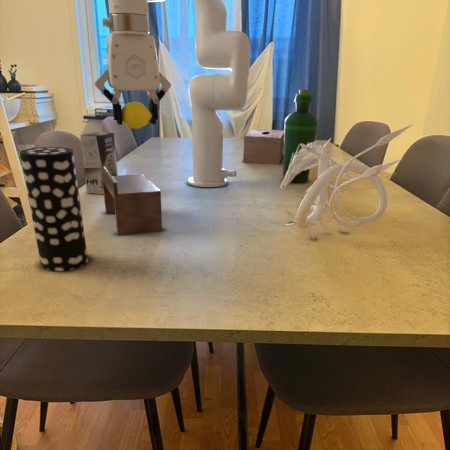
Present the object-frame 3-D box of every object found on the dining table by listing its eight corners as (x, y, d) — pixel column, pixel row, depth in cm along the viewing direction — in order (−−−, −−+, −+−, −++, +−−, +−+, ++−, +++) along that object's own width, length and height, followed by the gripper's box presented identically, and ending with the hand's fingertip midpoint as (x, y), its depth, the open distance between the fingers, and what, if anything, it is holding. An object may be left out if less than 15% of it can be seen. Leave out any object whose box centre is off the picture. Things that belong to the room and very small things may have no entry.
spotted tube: (48, 254, 84) (28, 146, 75) (91, 253, 85) (77, 147, 76) (35, 271, 77) (12, 155, 68) (83, 270, 78) (66, 155, 68)
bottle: (313, 179, 150) (323, 89, 137) (308, 185, 141) (319, 90, 128) (283, 176, 153) (290, 88, 140) (276, 182, 144) (283, 89, 131)
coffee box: (106, 194, 125) (100, 135, 117) (86, 193, 126) (78, 134, 118) (119, 187, 133) (114, 131, 125) (100, 186, 134) (94, 130, 126)
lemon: (117, 129, 92) (115, 101, 89) (123, 126, 97) (121, 100, 94) (150, 130, 92) (149, 102, 89) (154, 127, 97) (153, 101, 94)
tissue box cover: (251, 152, 198) (253, 128, 193) (283, 153, 195) (285, 130, 191) (243, 162, 175) (244, 136, 171) (278, 164, 173) (280, 137, 168)
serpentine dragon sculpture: (412, 272, 77) (463, 117, 70) (299, 251, 75) (340, 88, 67) (334, 233, 120) (361, 134, 112) (261, 219, 117) (283, 117, 110)
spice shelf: (144, 209, 113) (141, 164, 108) (162, 230, 98) (160, 179, 93) (105, 212, 110) (100, 166, 104) (118, 235, 95) (113, 182, 90)
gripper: (86, 22, 79) (98, 126, 88) (177, 28, 85) (179, 125, 94) (82, 25, 85) (93, 122, 94) (167, 30, 92) (170, 121, 100)
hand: (136, 123), depth 94 cm, fingers closed on lemon, 6 cm apart
